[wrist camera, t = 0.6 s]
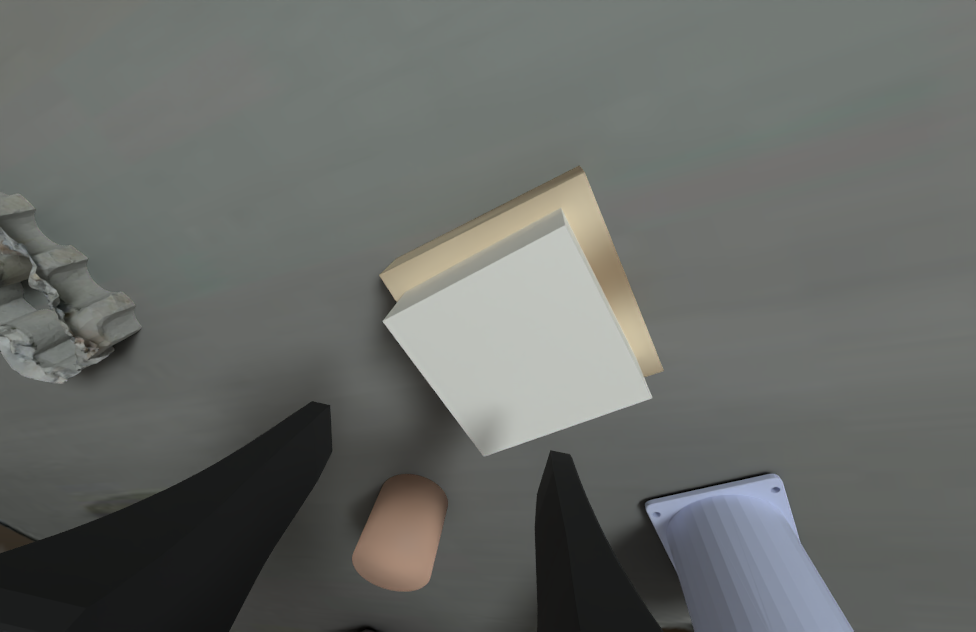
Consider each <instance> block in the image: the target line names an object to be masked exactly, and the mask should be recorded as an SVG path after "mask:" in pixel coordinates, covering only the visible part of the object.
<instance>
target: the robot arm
mask: <svg viewBox="0 0 976 632" xmlns="http://www.w3.org/2000/svg"><path fill="white" fill-rule="evenodd" d="M331 452H332V435H331V414H330V405H327V404H322V403H317V402H313V401H312V402H310V403H309V404H307V405H306V406H304V407H303V408H301V409H300V410H298V411H297V412H295V413H294V414H292V415H291V416H289V417H288V418H286V419H285V420H283V421H282V422H281V423H279V424H278V425H276V426H275V427H273V428H272V429H270V430H269V431H267V432H266V433H264V434H262V435H261V436H259V437H258V438H256V439H255V440H253V441H252V442H250V443H249V444H247V445H245V446H244V447H242V448H241V449H239V450H237V451H236V452H234V453H232V454H231V455H229V456H227V457H226V458H224V459H222V460H221V461H219V462H217V463H216V464H214V465H212V466H210V467H208V468H207V469H205V470H203V471H201V472H199V473H198V474H196V475H194V476H192V477H190V478H188V479H186V480H184V481H182V482H180V483H178V484H176V485H174V486H172V487H170V488H168V489H166V490H164V491H161V492H159V493H157V494H155V495H153V496H150V497H148V498H146V499H144V500H142V501H139V502H137V503H135V504H133V505H131V506H128V507H126V508H124V509H121V510H119V511H116V512H114V513H112V514H109V515H107V516H104V517H102V518H99V519H97V520H94V521H91V522H89V523H86V524H84V525H81V526H78V527H76V528H73V529H70V530H68V531H65V532H62V533H59V534H56V535H54V536H51V537H48V538H45V539H42V540H39V541H36V542H33V543H30V544H27V545H24V546H21V547H18V548H15V549H13V550H9V551H6V552H3V553H0V632H229V631H230V629H231V627H232V625H233V623H234V621H235V619H236V617H237V615H238V613H239V611H240V609H241V607H242V605H243V603H244V601H245V599H246V597H247V595H248V594H249V592H250V590H251V588H252V586H253V584H254V582H255V580H256V579H257V577H258V575H259V573H260V571H261V569H262V567H263V566H264V564H265V562H266V560H267V559H268V557H269V555H270V554H271V552H272V550H273V549H274V547H275V545H276V544H277V542H278V541H279V539H280V538H281V536H282V535H283V533H284V532H285V530H286V529H287V527H288V526H289V524H290V522H291V521H292V519H293V518H294V516H295V515H296V513H297V512H298V510H299V509H300V507H301V506H302V504H303V503H304V501H305V500H306V498H307V496H308V495H309V493H310V492H311V490H312V489H313V487H314V485H315V484H316V482H317V481H318V479H319V477H320V475H321V473H322V471H323V469H324V467H325V465H326V463H327V461H328V459H329V457H330V455H331ZM645 508H646V511H647V513H648V515H649V517H650V519H651V522H652V524H653V526H654V528H655V530H656V532H657V534H658V536H659V538H660V540H661V542H662V544H663V546H664V548H665V550H666V552H667V554H668V556H669V558H670V560H671V562H672V564H673V566H674V568H675V570H676V572H677V574H678V577H679V580H680V584H681V587H682V591H683V594H684V597H685V601H686V604H687V608H688V611H689V614H690V618H691V621H692V624H693V628H694V631H695V632H854V631H853V629H852V627H851V626H850V624H849V622H848V621H847V619H846V617H845V616H844V614H843V612H842V611H841V609H840V607H839V606H838V604H837V602H836V601H835V599H834V597H833V596H832V594H831V593H830V591H829V589H828V588H827V586H826V584H825V583H824V581H823V579H822V578H821V576H820V574H819V573H818V571H817V569H816V568H815V566H814V564H813V563H812V561H811V559H810V558H809V556H808V554H807V553H806V551H805V550H804V548H803V546H802V545H801V543H800V539H799V536H798V533H797V529H796V526H795V522H794V519H793V515H792V512H791V509H790V505H789V502H788V498H787V495H786V492H785V488H784V485H783V482H782V480H781V479H780V477H779V476H778V475H776V474H766V475H762V476H757V477H752V478H748V479H743V480H739V481H734V482H730V483H725V484H721V485H716V486H711V487H707V488H702V489H698V490H693V491H689V492H684V493H680V494H675V495H670V496H666V497H661V498H657V499H652V500H649V501H647V502H646V503H645ZM535 549H536V576H537V603H538V627H537V632H663V630H662V629H661V627H660V626H659V624H658V623H657V622H656V620H655V619H654V617H653V616H652V615H651V613H650V612H649V610H648V609H647V607H646V606H645V604H644V603H643V601H642V599H641V598H640V596H639V595H638V593H637V592H636V590H635V588H634V587H633V585H632V584H631V582H630V580H629V579H628V577H627V575H626V574H625V572H624V570H623V568H622V567H621V565H620V563H619V561H618V560H617V558H616V556H615V554H614V552H613V550H612V548H611V547H610V545H609V543H608V541H607V539H606V537H605V535H604V533H603V531H602V529H601V527H600V525H599V523H598V521H597V518H596V516H595V514H594V512H593V510H592V507H591V505H590V503H589V501H588V498H587V496H586V494H585V491H584V489H583V486H582V484H581V481H580V479H579V476H578V473H577V471H576V468H575V465H574V462H573V459H572V457H571V455H570V454H566V453H561V452H556V451H551V450H550V454H549V457H548V460H547V463H546V467H545V470H544V473H543V476H542V480H541V483H540V486H539V489H538V493H537V502H536V516H535Z"/></svg>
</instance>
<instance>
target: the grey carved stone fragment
mask: <svg viewBox="0 0 976 632" xmlns="http://www.w3.org/2000/svg"><path fill="white" fill-rule="evenodd" d="M34 214H35V208H34V207H33V206H32V205H31V204H30V202H29V201H27V200H26V199H25V198H24V197H23V196H21V195H20V194H18V193H17V194H13V195H6V194H4V193H1V192H0V352H1V353H2V355H3V356H4V358H5V359H6V361H7V362H8V363H9V365H10V366H11V368H12V369H13V370H15V371H16V372H18V373H19V374H21V375H22V376H25V377H28V378H31V379H36V380H41V381H46V382H51V383H64V382H67V381H68V380H67V378H70V377H73V376H75V375H77V374H78V373H80V372H81V370H83V369H84V368H86V367H89V366H90V365H92V364H96V363H98V362H99V361H101V360H103V359H105V358H106V357H108V356H109V354H110V353H112V352H114V350H115V349H114V348H113V347H112V346H113V345H114V344H116V343H118V342H120V341H122V340H124V339H126V338H128V337H129V336H131V335H133V334H135V333H136V332H138V331H139V330H140V329H141V328H142V327H141V325H140V324H139V322H138V321H137V319H136V317H135V314H134V308H135V304H134V303H133V301H132V300H131V299H130V298H129V297H128V296H127V295H125V294H124V293H123V292H122V291H121V292H109V291H107V290H105V289H103V288H102V287H100V286H99V285H97V284H96V283H95V282H94V281H93V279H92V278H91V276H90V274H89V272H88V270H87V261H88V258H87V257H86V256H85V255H83V254H82V253H81V252H79V251H78V250H77V249H75V248H74V247H73V246H72V245H69V246H62V245H58V244H56V243H54V242H52V241H51V240H49V239H48V238H47V237H46V236H45V235H44V234H43V233H42V232H41V230H40V229H39V228H38V226H37V224H36V221H35V217H34ZM26 279H28V283H29V286H30V287H31V288H33V289H36V290H39V291H41V292H44V295H45V296H46V297H47V298H48V301H49V302H50V303H49V304H48V305H50V308H52V309H54V311H52V310H49V309H40V310H36V309H35V308H33V307H32V306H31V305H30V304H29V303H28V302H26V301H25V300H24V299H23V295H24V290H23V287H22V284H21V283H20V281H23V280H26ZM71 336H72V337H75V343H74V342H73V341H72V340H71V339H70V338H71Z"/></svg>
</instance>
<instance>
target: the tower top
mask: <svg viewBox="0 0 976 632" xmlns="http://www.w3.org/2000/svg"><path fill="white" fill-rule="evenodd" d="M383 323H384V324H385V325H386V327H387V328H388V329H389V331H390V332H391V333H392V335H393V336H394V337H395V339H396V340H397V341H398V343H399V344H400V345H401V347H402V348H403V349H404V351H405V352H406V353H407V355H408V356H409V357H410V359H411V360H412V361H413V363H414V364H415V365H416V367H417V368H418V369H419V371H420V372H421V373H422V375H423V376H424V377H425V379H426V380H427V381H428V383H429V384H430V385H431V387H432V388H433V390H434V391H435V392H436V394H437V395H438V396H439V398H440V399H441V400H442V402H443V403H444V404H445V406H446V407H447V408H448V410H449V411H450V412H451V414H452V415H453V416H454V418H455V419H456V420H457V422H458V423H459V424H460V426H461V427H462V428H463V430H464V431H465V432H466V434H467V435H468V436H469V438H470V439H471V440H472V442H473V443H474V444H475V446H476V447H477V448H478V450H479V451H480V452H481V454H482V455H483V456H487V455H490V454H493V453H496V452H499V451H502V450H504V449H507V448H510V447H513V446H516V445H519V444H522V443H525V442H527V441H530V440H533V439H536V438H539V437H542V436H545V435H548V434H550V433H553V432H556V431H559V430H562V429H565V428H568V427H571V426H574V425H576V424H579V423H582V422H585V421H588V420H591V419H594V418H597V417H599V416H602V415H605V414H608V413H611V412H614V411H617V410H620V409H622V408H625V407H628V406H631V405H634V404H637V403H640V402H643V401H645V400H648V399H651V398H652V396H651V393H650V391H649V388H648V386H647V383H646V381H645V378H644V376H643V373H642V371H641V368H640V366H639V363H638V361H637V358H636V356H635V354H634V352H633V350H632V348H631V346H630V344H629V342H628V340H627V338H626V336H625V334H624V332H623V330H622V328H621V326H620V324H619V322H618V320H617V318H616V316H615V314H614V312H613V310H612V308H611V306H610V304H609V302H608V300H607V298H606V296H605V294H604V292H603V290H602V288H601V286H600V284H599V282H598V280H597V278H596V276H595V274H594V272H593V270H592V268H591V266H590V264H589V262H588V260H587V258H586V256H585V254H584V252H583V250H582V248H581V246H580V244H579V242H578V240H577V238H576V236H575V234H574V232H573V230H572V228H571V226H570V224H569V222H568V220H567V218H566V216H565V214H564V212H563V210H562V208H559V209H557V210H555V211H554V212H552V213H550V214H548V215H546V216H544V217H542V218H541V219H539V220H537V221H535V222H533V223H531V224H530V225H528V226H526V227H524V228H522V229H520V230H519V231H517V232H515V233H513V234H511V235H509V236H508V237H506V238H504V239H502V240H500V241H498V242H497V243H495V244H493V245H491V246H489V247H487V248H485V249H484V250H482V251H480V252H478V253H476V254H474V255H473V256H471V257H469V258H467V259H465V260H463V261H462V262H460V263H458V264H456V265H454V266H452V267H451V268H449V269H447V270H445V271H443V272H441V273H440V274H438V275H436V276H434V277H432V278H430V279H429V280H427V281H425V282H423V283H421V284H419V285H417V286H416V287H414V288H412V289H410V290H408V291H406V292H405V293H404V294H403V296H402V297H401V298H400V299H399V301H398V302H397V303H396V305H395V306H394V307H393V308H392V310H391V311H390V312H389V314H388V315H387V316H386V317H385V319H384V320H383Z"/></svg>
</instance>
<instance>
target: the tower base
mask: <svg viewBox="0 0 976 632" xmlns="http://www.w3.org/2000/svg"><path fill="white" fill-rule="evenodd" d="M559 208H562V210H563V212H564V214H565V216H566V218H567V220H568V222H569V224H570V226H571V228H572V230H573V232H574V234H575V236H576V238H577V240H578V242H579V244H580V246H581V248H582V250H583V252H584V254H585V256H586V258H587V260H588V262H589V264H590V266H591V268H592V270H593V272H594V274H595V276H596V278H597V280H598V282H599V284H600V286H601V288H602V290H603V292H604V294H605V296H606V298H607V300H608V302H609V304H610V306H611V308H612V310H613V312H614V314H615V316H616V318H617V320H618V322H619V324H620V326H621V328H622V330H623V332H624V334H625V336H626V338H627V340H628V342H629V344H630V346H631V348H632V350H633V352H634V354H635V356H636V358H637V361H638V363H639V366H640V368H641V371H642V373H643V376H644V377H647V376H650V375H653V374H656V373H659V372H662V371H664V370H663V368H662V365H661V363H660V360H659V358H658V355H657V352H656V350H655V347H654V345H653V342H652V340H651V337H650V335H649V332H648V330H647V327H646V325H645V322H644V320H643V317H642V315H641V312H640V310H639V307H638V305H637V302H636V300H635V297H634V295H633V292H632V290H631V287H630V285H629V282H628V280H627V277H626V275H625V272H624V270H623V267H622V265H621V262H620V260H619V257H618V255H617V252H616V250H615V247H614V245H613V242H612V240H611V237H610V235H609V232H608V230H607V227H606V225H605V222H604V220H603V217H602V215H601V212H600V210H599V207H598V205H597V202H596V200H595V197H594V194H593V192H592V189H591V187H590V184H589V182H588V179H587V177H586V174H585V172H584V171H583V169H582V168H581V167H580V166H578V167H576V168H574V169H572V170H570V171H568V172H566V173H564V174H562V175H560V176H558V177H556V178H554V179H552V180H550V181H548V182H546V183H544V184H542V185H540V186H538V187H536V188H534V189H532V190H530V191H528V192H526V193H524V194H522V195H520V196H518V197H516V198H515V199H513V200H511V201H509V202H507V203H505V204H503V205H501V206H499V207H497V208H495V209H493V210H491V211H489V212H487V213H485V214H483V215H481V216H479V217H477V218H475V219H473V220H471V221H469V222H467V223H465V224H463V225H461V226H459V227H457V228H455V229H454V230H452V231H450V232H448V233H446V234H444V235H442V236H440V237H438V238H436V239H434V240H432V241H430V242H428V243H426V244H424V245H422V246H420V247H418V248H416V249H414V250H412V251H410V252H408V253H406V254H404V255H402V256H400V257H398V258H396V259H395V260H394V261H393V262H392V263H391V264H390V265H389V266H388V267H387V268H386V269H385V270H384V271H383V272H382V273H381V274H380V275H379V276H380V277H381V279H382V280H383V282H384V283H385V285H386V286H387V288H388V289H389V291H390V293H391V294H392V296H393V297H394V299H395V300H396V302H398V301H399V299H400V298H401V297H402V296H403V294H404V293H405V292H406V291H408V290H410V289H412V288H414V287H416V286H417V285H419V284H421V283H423V282H425V281H427V280H429V279H430V278H432V277H434V276H436V275H438V274H440V273H441V272H443V271H445V270H447V269H449V268H451V267H452V266H454V265H456V264H458V263H460V262H462V261H463V260H465V259H467V258H469V257H471V256H473V255H474V254H476V253H478V252H480V251H482V250H484V249H485V248H487V247H489V246H491V245H493V244H495V243H497V242H498V241H500V240H502V239H504V238H506V237H508V236H509V235H511V234H513V233H515V232H517V231H519V230H520V229H522V228H524V227H526V226H528V225H530V224H531V223H533V222H535V221H537V220H539V219H541V218H542V217H544V216H546V215H548V214H550V213H552V212H554V211H555V210H557V209H559Z"/></svg>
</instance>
